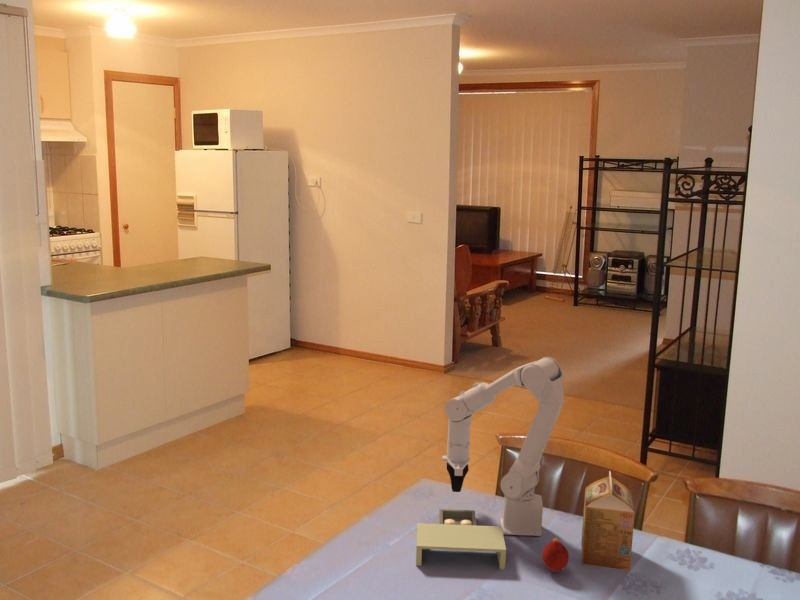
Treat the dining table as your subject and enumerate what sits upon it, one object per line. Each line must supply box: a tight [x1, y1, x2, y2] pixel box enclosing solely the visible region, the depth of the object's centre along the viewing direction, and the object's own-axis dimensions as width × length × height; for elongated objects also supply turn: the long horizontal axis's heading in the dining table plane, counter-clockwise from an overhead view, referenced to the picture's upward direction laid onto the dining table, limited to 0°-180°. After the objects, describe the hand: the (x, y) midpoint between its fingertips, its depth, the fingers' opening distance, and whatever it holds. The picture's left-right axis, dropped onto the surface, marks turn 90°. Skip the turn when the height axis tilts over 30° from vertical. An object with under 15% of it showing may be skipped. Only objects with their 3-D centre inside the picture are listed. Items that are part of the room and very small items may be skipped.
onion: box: [541, 537, 570, 573], centre depth 171 cm, size 6×6×8 cm
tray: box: [438, 508, 477, 526], centre depth 191 cm, size 9×11×3 cm
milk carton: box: [581, 470, 636, 571], centre depth 177 cm, size 11×11×19 cm
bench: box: [415, 522, 507, 570], centre depth 177 cm, size 20×11×5 cm, turn 88°
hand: (456, 490), depth 200 cm, fingers closed
